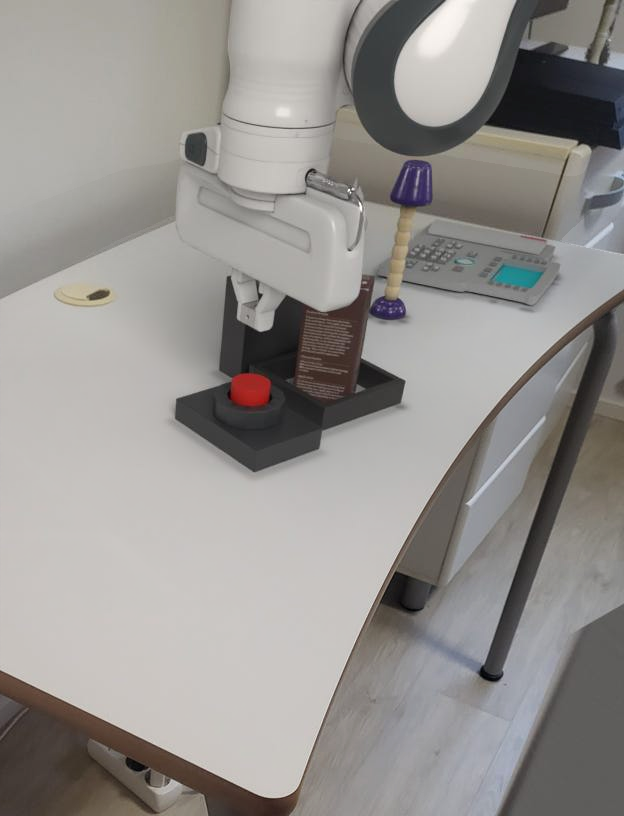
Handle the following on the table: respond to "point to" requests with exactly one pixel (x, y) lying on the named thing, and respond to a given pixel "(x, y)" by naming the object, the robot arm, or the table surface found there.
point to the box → (333, 347)
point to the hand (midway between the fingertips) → (254, 325)
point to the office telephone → (479, 262)
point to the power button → (250, 389)
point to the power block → (249, 427)
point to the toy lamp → (404, 232)
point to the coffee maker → (278, 360)
